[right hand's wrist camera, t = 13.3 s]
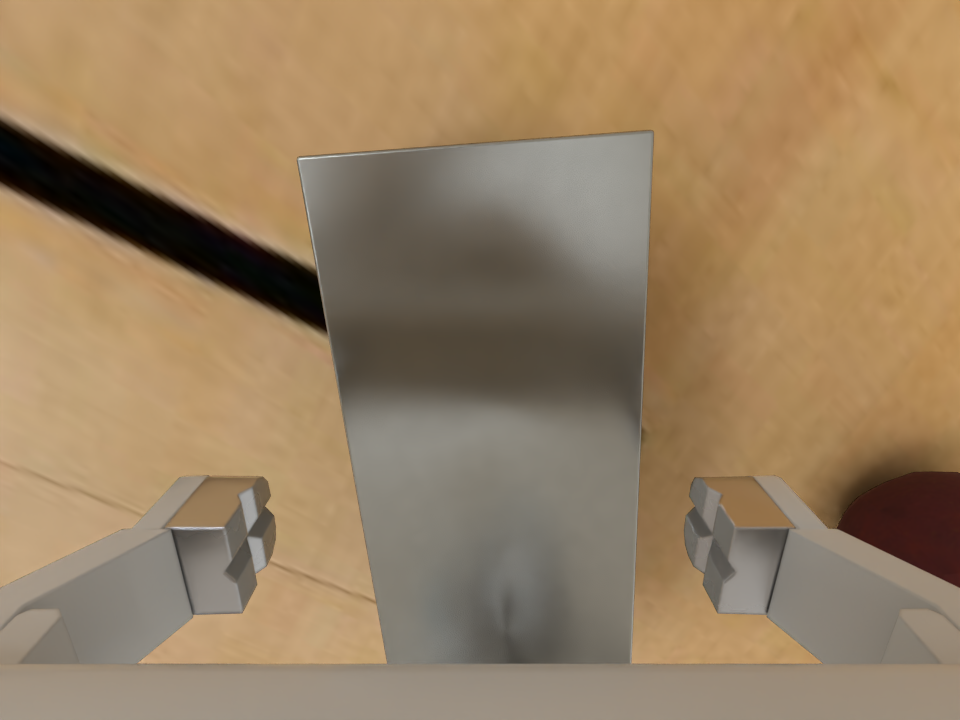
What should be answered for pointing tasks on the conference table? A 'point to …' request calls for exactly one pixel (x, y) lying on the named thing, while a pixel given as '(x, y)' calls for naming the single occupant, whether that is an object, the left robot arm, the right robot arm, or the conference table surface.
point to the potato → (912, 521)
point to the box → (492, 386)
